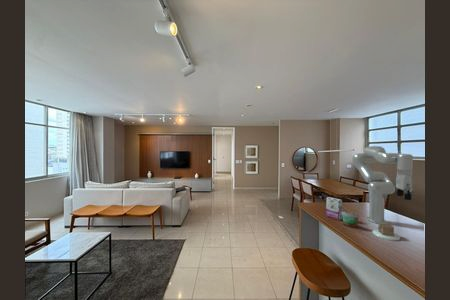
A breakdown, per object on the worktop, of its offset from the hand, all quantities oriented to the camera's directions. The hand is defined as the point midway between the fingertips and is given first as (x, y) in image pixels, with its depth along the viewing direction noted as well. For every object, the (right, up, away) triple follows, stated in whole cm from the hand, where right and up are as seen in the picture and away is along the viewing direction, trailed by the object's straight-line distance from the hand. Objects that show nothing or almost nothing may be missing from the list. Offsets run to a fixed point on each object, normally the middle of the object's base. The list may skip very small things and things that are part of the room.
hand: (403, 197), depth 128 cm
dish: (-12, -25, 0) cm, 28 cm away
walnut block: (-12, -24, 0) cm, 27 cm away
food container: (-27, -25, +16) cm, 40 cm away
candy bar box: (-29, -25, +32) cm, 50 cm away
